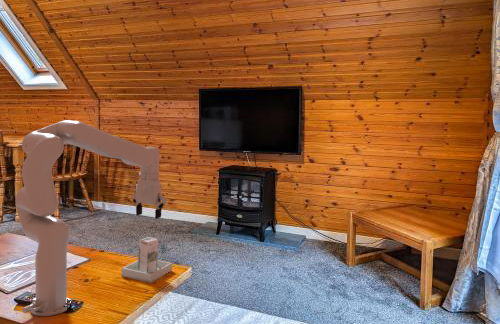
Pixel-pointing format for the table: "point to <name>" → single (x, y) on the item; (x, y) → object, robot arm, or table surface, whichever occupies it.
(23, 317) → the table surface
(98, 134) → the robot arm
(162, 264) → the tray
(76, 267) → the table surface
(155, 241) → the syrup box
